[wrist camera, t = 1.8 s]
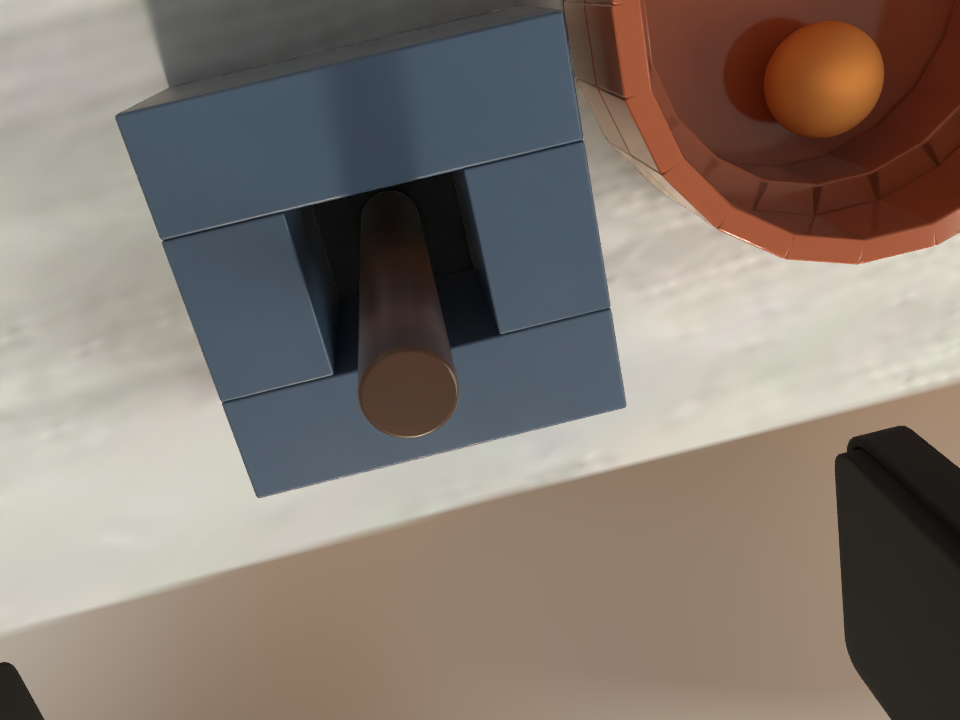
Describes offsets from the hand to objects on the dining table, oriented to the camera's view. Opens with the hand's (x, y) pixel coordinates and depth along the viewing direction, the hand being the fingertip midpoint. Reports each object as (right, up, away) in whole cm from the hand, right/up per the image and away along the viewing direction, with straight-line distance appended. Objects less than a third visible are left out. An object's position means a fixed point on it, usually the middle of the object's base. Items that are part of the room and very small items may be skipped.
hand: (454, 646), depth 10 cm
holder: (-3, +8, +18) cm, 19 cm away
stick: (-3, +8, +18) cm, 19 cm away
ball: (+10, +11, +15) cm, 21 cm away
